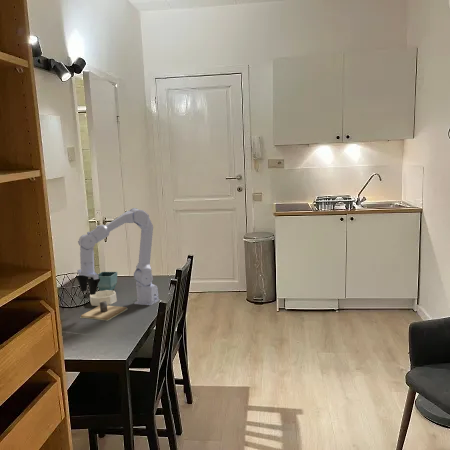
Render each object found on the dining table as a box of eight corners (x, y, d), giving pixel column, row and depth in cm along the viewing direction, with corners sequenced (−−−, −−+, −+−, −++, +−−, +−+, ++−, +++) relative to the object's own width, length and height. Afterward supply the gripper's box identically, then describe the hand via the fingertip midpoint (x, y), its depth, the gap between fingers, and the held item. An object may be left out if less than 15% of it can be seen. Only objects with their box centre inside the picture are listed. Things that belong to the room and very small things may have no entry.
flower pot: (112, 293, 241) (110, 276, 239) (96, 293, 242) (94, 276, 241) (119, 288, 249) (117, 271, 248) (103, 288, 251) (102, 271, 249)
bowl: (121, 299, 230) (120, 291, 229) (106, 307, 219) (105, 298, 218) (101, 297, 234) (100, 289, 234) (85, 305, 224) (84, 297, 223)
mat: (128, 309, 215) (128, 308, 215) (108, 321, 201) (108, 320, 201) (100, 306, 220) (100, 306, 220) (79, 318, 207) (79, 317, 207)
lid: (126, 308, 214) (125, 298, 214) (107, 319, 202) (106, 309, 201) (101, 306, 220) (99, 296, 219) (81, 317, 207) (79, 306, 206)
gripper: (70, 261, 210) (71, 291, 212) (87, 266, 200) (88, 297, 202) (85, 258, 215) (86, 288, 217) (102, 263, 205) (103, 294, 207)
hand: (88, 292), depth 210 cm, fingers open, 7 cm apart
